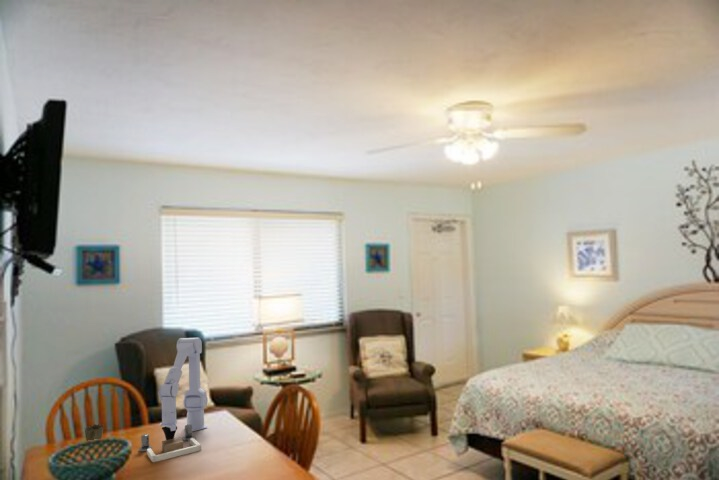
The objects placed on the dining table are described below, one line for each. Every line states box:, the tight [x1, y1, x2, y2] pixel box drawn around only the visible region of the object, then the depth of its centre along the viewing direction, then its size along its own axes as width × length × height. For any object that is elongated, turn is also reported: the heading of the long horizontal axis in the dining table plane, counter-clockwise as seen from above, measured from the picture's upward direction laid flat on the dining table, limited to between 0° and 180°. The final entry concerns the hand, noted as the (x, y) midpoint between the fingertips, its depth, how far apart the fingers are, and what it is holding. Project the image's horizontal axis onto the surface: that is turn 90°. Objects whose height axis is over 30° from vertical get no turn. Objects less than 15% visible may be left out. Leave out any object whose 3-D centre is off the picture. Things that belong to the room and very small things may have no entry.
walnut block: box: [161, 436, 185, 453], centre depth 199 cm, size 7×7×4 cm
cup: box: [84, 423, 104, 442], centre depth 211 cm, size 8×7×8 cm
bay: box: [146, 438, 202, 463], centre depth 197 cm, size 12×19×2 cm, turn 124°
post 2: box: [182, 424, 196, 442], centre depth 212 cm, size 5×5×6 cm
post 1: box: [138, 433, 153, 453], centre depth 202 cm, size 5×5×6 cm
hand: (169, 443), depth 203 cm, fingers closed
